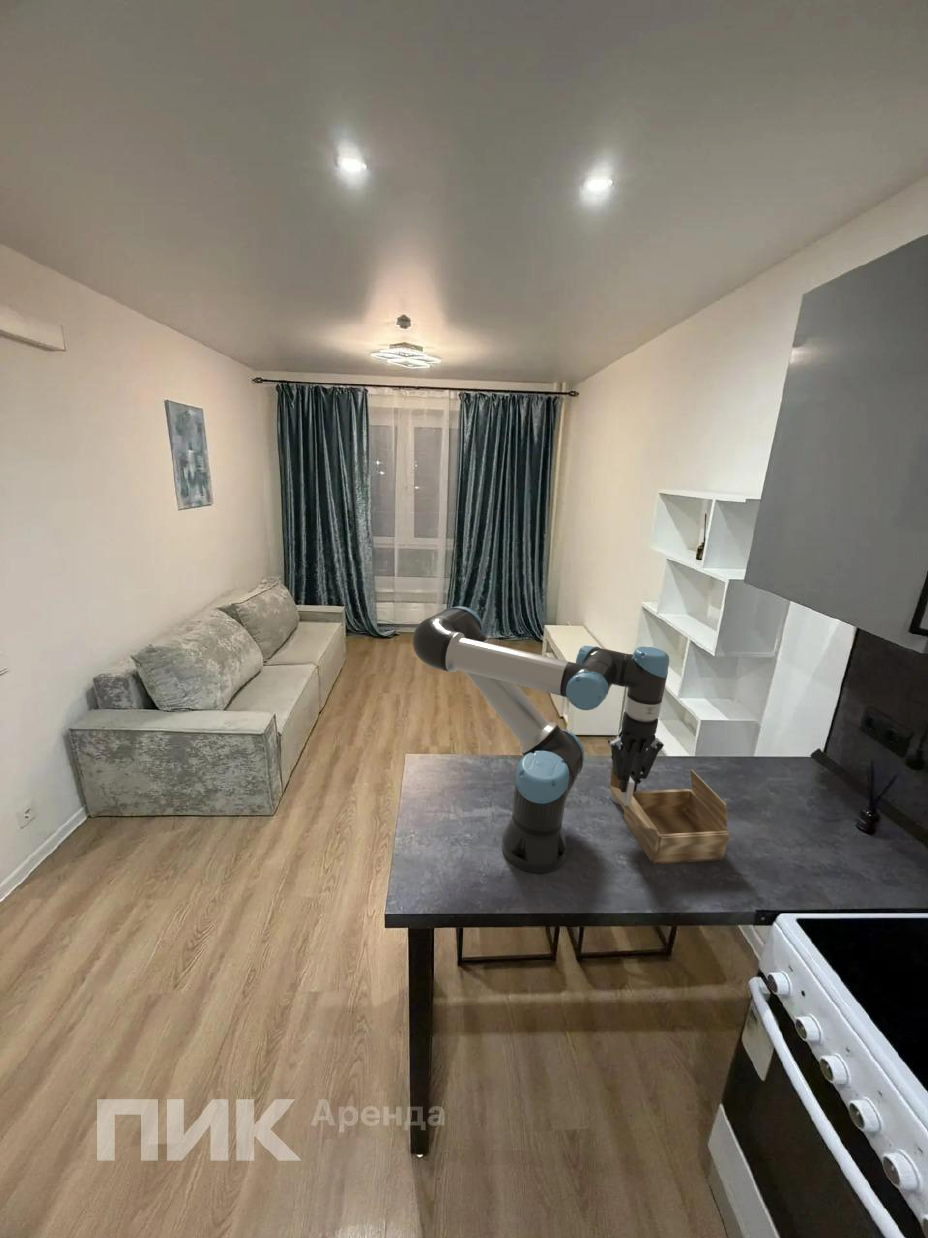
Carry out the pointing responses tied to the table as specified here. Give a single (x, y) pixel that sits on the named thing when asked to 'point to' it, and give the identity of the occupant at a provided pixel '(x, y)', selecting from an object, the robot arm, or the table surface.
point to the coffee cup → (615, 778)
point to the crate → (678, 828)
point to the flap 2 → (709, 798)
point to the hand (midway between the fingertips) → (625, 802)
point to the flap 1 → (634, 811)
